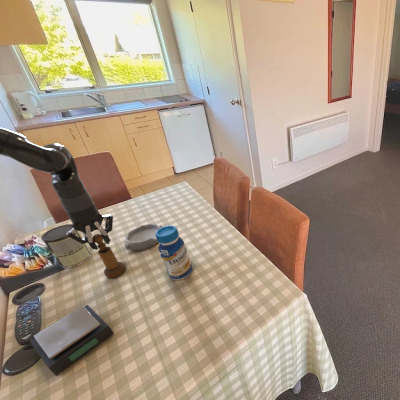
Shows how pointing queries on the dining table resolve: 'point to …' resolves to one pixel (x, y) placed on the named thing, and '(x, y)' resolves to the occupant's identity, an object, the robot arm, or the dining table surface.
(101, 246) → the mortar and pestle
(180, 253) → the beverage bottle
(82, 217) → the robot arm
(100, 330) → the scale
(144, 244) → the dish
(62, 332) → the scale pan
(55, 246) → the coffee can
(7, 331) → the dining table surface
